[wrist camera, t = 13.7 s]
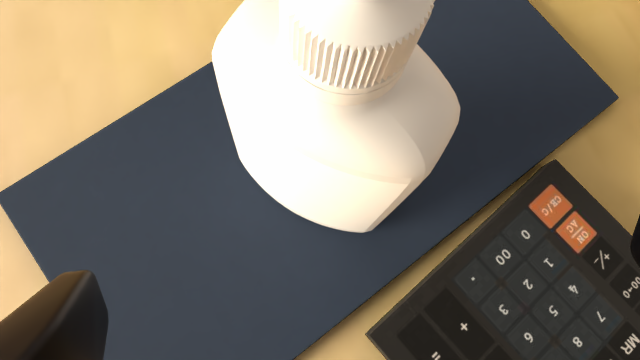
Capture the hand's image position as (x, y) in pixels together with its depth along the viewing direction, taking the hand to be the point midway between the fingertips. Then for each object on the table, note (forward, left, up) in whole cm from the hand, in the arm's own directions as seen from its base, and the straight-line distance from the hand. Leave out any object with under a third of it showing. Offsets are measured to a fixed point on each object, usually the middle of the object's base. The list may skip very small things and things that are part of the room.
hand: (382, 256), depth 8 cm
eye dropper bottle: (+2, +3, -9) cm, 10 cm away
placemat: (+3, +4, -9) cm, 11 cm away
